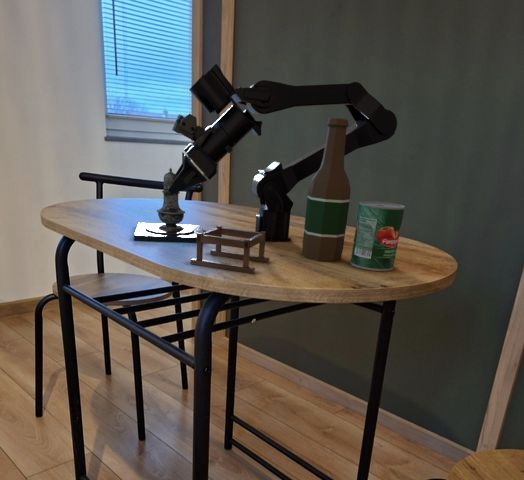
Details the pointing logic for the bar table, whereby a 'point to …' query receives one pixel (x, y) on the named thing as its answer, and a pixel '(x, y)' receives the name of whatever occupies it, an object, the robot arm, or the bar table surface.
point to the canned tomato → (377, 235)
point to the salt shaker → (170, 206)
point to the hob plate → (166, 233)
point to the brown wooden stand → (216, 238)
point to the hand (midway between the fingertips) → (169, 189)
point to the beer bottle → (328, 199)
